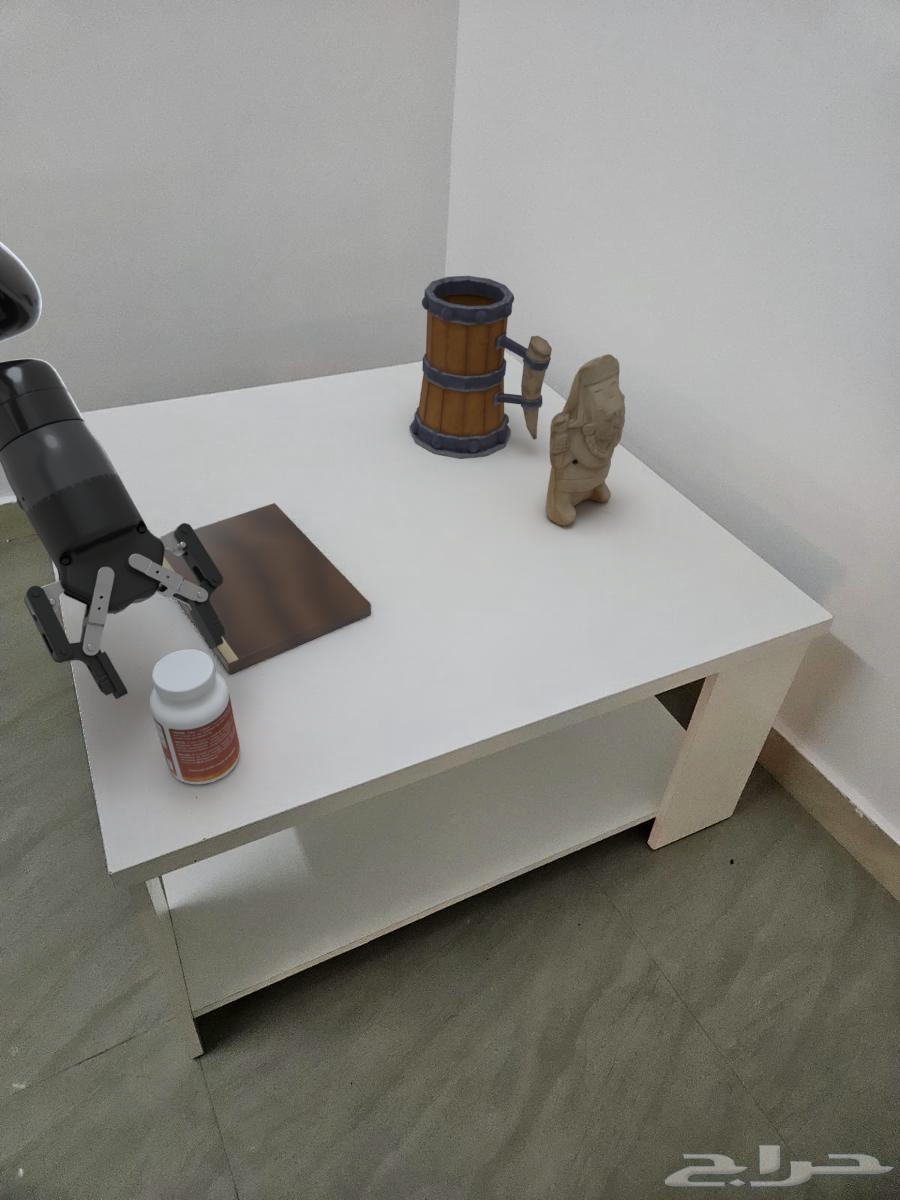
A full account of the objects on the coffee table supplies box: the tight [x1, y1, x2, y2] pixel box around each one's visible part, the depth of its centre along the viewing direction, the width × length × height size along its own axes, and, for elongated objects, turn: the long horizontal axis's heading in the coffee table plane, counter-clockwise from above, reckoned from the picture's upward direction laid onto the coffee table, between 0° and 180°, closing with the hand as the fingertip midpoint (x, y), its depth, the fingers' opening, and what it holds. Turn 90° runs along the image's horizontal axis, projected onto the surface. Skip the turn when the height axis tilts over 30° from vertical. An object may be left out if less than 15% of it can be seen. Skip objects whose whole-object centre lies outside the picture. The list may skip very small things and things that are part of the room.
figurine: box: [545, 353, 626, 527], centre depth 96 cm, size 13×7×20 cm, turn 131°
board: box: [163, 502, 372, 675], centre depth 88 cm, size 16×22×2 cm
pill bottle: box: [149, 648, 241, 785], centre depth 67 cm, size 6×6×11 cm
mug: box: [408, 275, 553, 459], centre depth 109 cm, size 19×14×20 cm
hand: (171, 670), depth 66 cm, fingers open, 8 cm apart
